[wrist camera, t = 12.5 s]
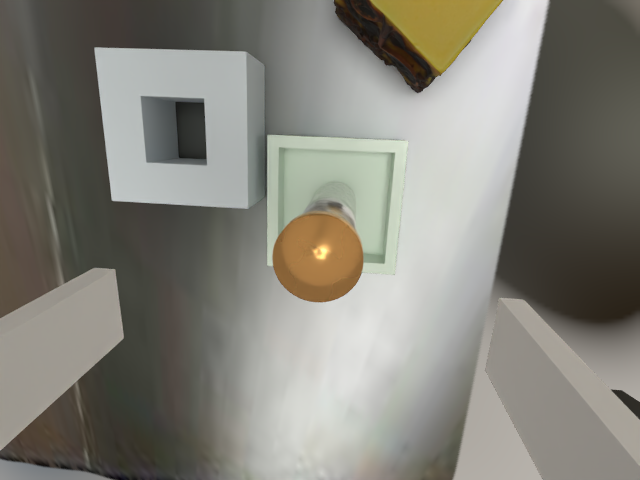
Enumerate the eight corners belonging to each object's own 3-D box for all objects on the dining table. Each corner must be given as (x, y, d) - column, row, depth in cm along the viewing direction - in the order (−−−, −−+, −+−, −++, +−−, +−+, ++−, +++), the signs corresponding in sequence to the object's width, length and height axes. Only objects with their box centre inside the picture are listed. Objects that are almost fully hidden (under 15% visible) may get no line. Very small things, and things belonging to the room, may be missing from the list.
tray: (275, 134, 36) (267, 134, 32) (403, 140, 35) (408, 141, 31) (274, 254, 39) (267, 265, 36) (391, 262, 38) (394, 274, 35)
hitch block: (137, 61, 35) (94, 47, 29) (264, 65, 34) (246, 51, 28) (148, 190, 38) (112, 200, 32) (264, 196, 37) (248, 208, 32)
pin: (311, 175, 36) (272, 212, 19) (361, 178, 35) (366, 218, 19) (309, 224, 37) (272, 298, 21) (358, 227, 37) (360, 305, 20)
